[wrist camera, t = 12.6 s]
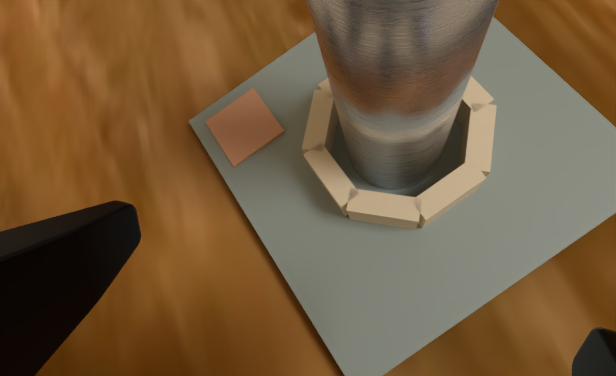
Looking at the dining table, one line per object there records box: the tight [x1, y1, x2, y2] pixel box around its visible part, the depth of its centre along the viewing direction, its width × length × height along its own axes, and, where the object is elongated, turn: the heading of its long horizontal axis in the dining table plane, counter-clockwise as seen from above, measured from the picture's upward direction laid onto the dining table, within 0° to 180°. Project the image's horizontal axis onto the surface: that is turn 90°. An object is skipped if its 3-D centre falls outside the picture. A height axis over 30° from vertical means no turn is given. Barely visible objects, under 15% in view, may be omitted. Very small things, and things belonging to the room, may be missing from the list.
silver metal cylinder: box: [307, 0, 499, 190], centre depth 13 cm, size 4×4×14 cm
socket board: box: [189, 17, 616, 376], centre depth 19 cm, size 16×16×3 cm
